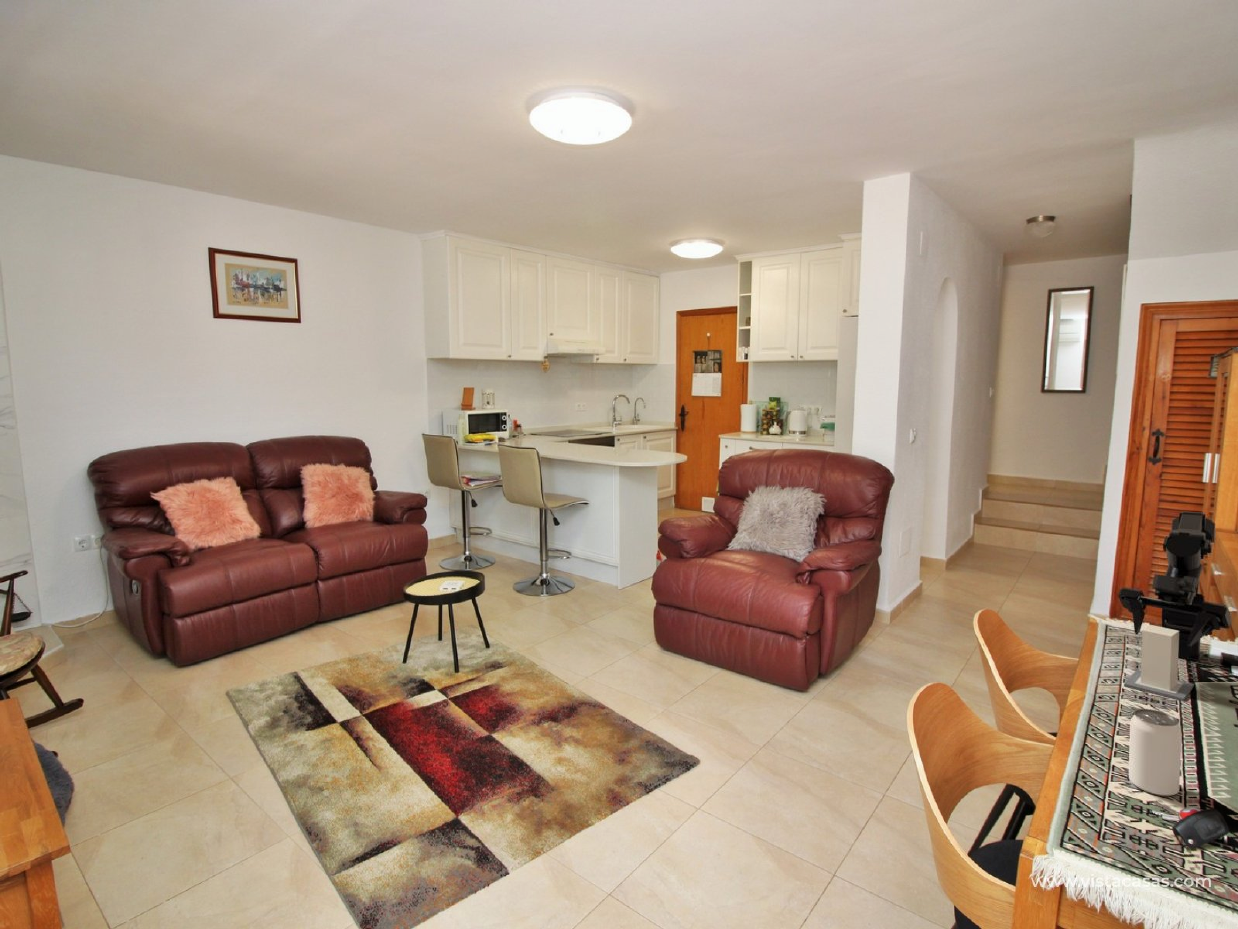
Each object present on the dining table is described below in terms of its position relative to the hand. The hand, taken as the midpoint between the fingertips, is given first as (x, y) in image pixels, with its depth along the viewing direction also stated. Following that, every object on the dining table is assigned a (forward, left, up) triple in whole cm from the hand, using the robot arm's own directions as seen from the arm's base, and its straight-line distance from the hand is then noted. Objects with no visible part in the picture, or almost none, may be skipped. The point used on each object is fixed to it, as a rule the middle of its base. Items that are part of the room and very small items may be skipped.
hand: (1161, 639), depth 140 cm
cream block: (+1, 0, -10) cm, 10 cm away
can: (+46, +8, -11) cm, 48 cm away
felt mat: (+1, 0, -10) cm, 10 cm away
